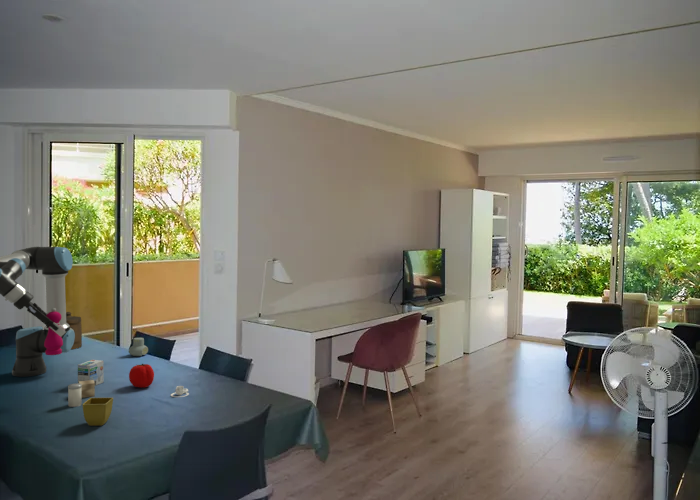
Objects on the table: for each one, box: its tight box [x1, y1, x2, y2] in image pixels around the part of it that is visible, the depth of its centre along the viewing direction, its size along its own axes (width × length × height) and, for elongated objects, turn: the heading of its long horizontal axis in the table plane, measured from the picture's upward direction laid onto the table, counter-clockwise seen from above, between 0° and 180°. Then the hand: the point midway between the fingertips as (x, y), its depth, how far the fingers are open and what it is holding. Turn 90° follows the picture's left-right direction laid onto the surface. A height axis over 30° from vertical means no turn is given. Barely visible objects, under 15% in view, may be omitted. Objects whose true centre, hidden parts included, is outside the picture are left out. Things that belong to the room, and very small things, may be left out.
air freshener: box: [128, 337, 149, 357], centre depth 327 cm, size 11×8×10 cm
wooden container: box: [66, 311, 83, 350], centre depth 344 cm, size 15×15×22 cm
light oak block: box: [79, 380, 96, 399], centre depth 250 cm, size 6×6×6 cm
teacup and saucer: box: [170, 385, 190, 398], centre depth 254 cm, size 9×8×4 cm
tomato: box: [128, 363, 155, 389], centre depth 265 cm, size 12×12×11 cm
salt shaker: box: [67, 382, 82, 408], centre depth 236 cm, size 5×5×8 cm
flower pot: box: [81, 397, 114, 427], centre depth 215 cm, size 9×9×9 cm
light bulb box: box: [77, 359, 105, 387], centre depth 266 cm, size 11×7×11 cm, turn 168°
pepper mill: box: [44, 308, 63, 356], centre depth 242 cm, size 7×7×20 cm
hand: (63, 333), depth 244 cm, fingers closed on pepper mill, 5 cm apart
